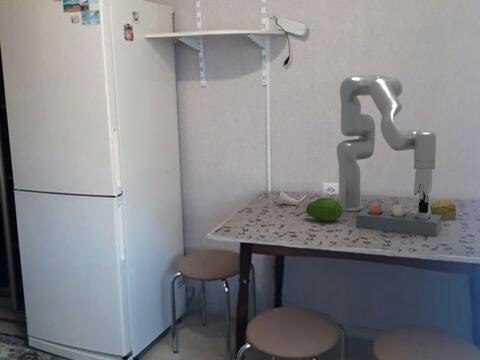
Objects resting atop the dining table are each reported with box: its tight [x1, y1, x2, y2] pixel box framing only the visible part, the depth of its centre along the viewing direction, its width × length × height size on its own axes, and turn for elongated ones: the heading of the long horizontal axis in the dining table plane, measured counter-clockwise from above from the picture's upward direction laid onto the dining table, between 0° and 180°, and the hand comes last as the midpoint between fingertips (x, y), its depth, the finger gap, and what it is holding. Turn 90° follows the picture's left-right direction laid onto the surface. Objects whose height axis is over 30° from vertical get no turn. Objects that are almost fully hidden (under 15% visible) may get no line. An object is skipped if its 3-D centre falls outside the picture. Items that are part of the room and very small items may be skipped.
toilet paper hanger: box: [277, 190, 308, 207], centre depth 242 cm, size 23×10×8 cm, turn 162°
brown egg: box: [369, 202, 382, 215], centre depth 196 cm, size 4×4×5 cm
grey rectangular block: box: [355, 207, 443, 237], centre depth 192 cm, size 30×12×5 cm, turn 59°
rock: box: [429, 197, 457, 221], centre depth 204 cm, size 10×11×10 cm
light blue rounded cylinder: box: [416, 210, 430, 220], centre depth 187 cm, size 4×4×5 cm
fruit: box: [305, 197, 344, 222], centre depth 205 cm, size 15×10×10 cm, turn 65°
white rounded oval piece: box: [392, 204, 406, 217], centre depth 191 cm, size 4×4×5 cm
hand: (423, 212), depth 186 cm, fingers closed
